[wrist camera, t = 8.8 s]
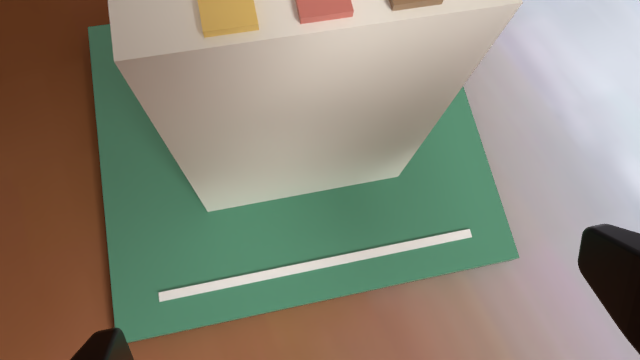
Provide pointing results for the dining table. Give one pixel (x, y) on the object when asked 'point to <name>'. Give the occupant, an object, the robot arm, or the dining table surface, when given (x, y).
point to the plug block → (297, 85)
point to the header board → (279, 223)
